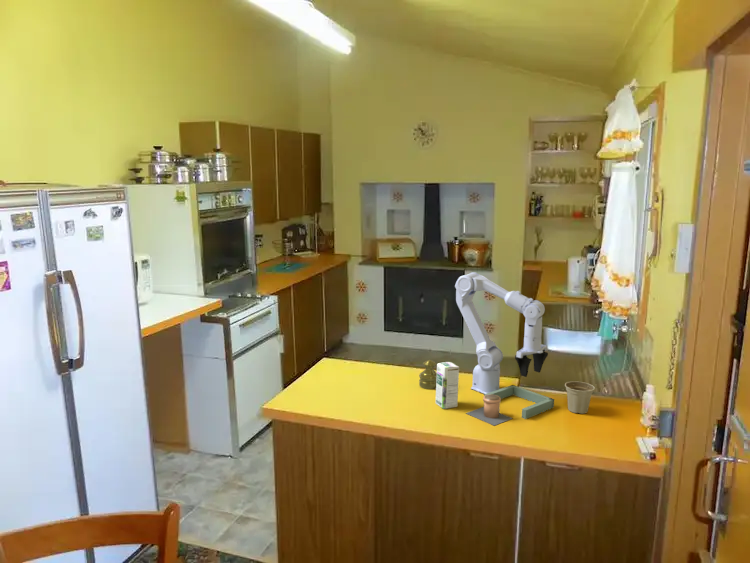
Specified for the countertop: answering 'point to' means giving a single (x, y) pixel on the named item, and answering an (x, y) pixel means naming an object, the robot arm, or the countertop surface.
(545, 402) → the green u-shaped frame
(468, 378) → the countertop surface
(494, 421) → the rubber mat
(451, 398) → the syrup box
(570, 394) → the flower pot
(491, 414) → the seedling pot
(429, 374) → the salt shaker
